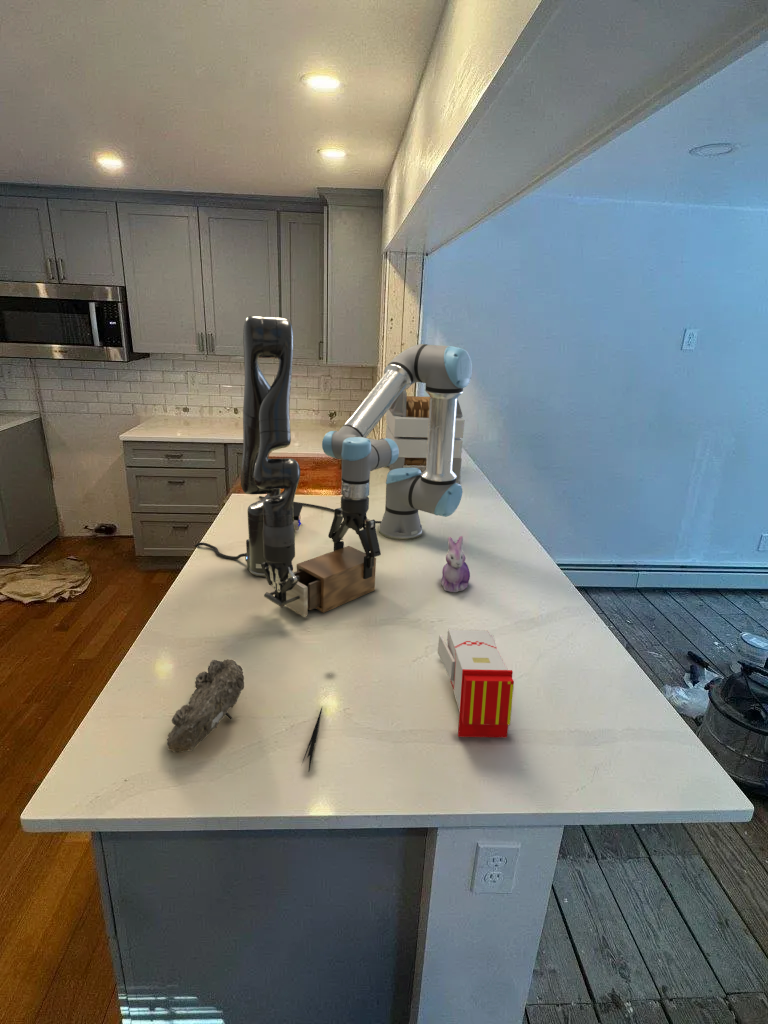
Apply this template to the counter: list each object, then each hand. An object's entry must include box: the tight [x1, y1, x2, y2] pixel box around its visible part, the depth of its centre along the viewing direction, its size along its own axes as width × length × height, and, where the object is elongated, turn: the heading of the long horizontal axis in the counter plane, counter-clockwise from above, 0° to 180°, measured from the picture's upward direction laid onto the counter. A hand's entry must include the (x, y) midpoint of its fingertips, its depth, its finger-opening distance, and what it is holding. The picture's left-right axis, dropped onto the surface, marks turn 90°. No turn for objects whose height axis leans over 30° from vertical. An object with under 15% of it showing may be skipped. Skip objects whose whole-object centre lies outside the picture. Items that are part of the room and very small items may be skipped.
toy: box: [437, 628, 515, 738], centre depth 117 cm, size 12×13×30 cm
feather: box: [301, 673, 332, 771], centre depth 108 cm, size 2×28×2 cm
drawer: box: [263, 570, 322, 617], centre depth 148 cm, size 24×10×8 cm, turn 136°
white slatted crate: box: [384, 389, 465, 484], centre depth 268 cm, size 34×33×41 cm
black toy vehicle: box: [293, 504, 304, 531], centre depth 198 cm, size 7×8×15 cm
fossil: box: [166, 658, 245, 754], centre depth 106 cm, size 22×10×15 cm
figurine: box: [440, 535, 471, 593], centre depth 161 cm, size 9×10×15 cm
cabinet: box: [296, 545, 377, 614], centre depth 155 cm, size 19×11×10 cm, turn 136°
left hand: (280, 602), depth 142 cm, fingers closed
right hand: (352, 570), depth 159 cm, fingers closed on cabinet, 11 cm apart
